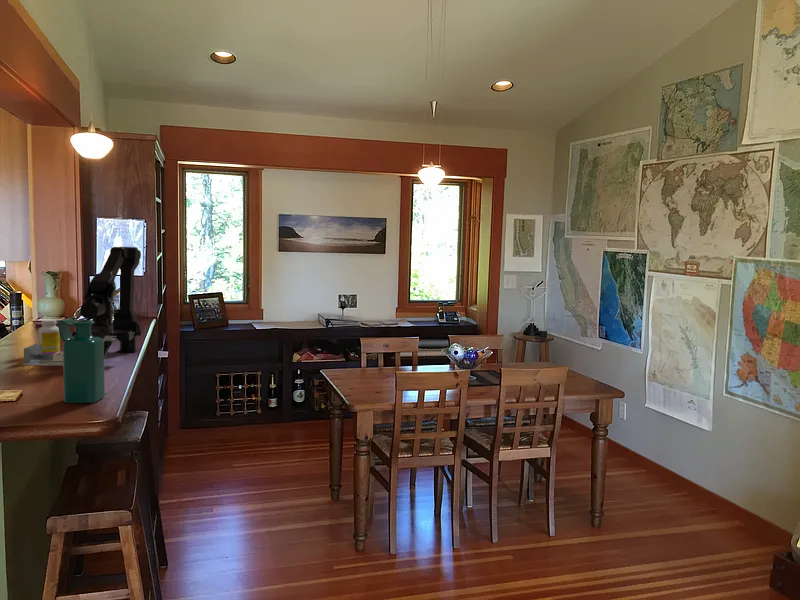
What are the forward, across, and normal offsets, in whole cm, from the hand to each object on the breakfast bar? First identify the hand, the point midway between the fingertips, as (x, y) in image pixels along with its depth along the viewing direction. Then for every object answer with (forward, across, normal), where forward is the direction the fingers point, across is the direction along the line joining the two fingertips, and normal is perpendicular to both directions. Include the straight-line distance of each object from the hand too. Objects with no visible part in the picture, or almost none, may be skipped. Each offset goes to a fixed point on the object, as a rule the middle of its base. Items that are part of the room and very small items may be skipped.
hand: (103, 360), depth 214 cm
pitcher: (+1, +10, -48) cm, 49 cm away
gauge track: (+1, -16, 0) cm, 17 cm away
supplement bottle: (+1, -22, +12) cm, 25 cm away
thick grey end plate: (0, -9, -1) cm, 9 cm away
